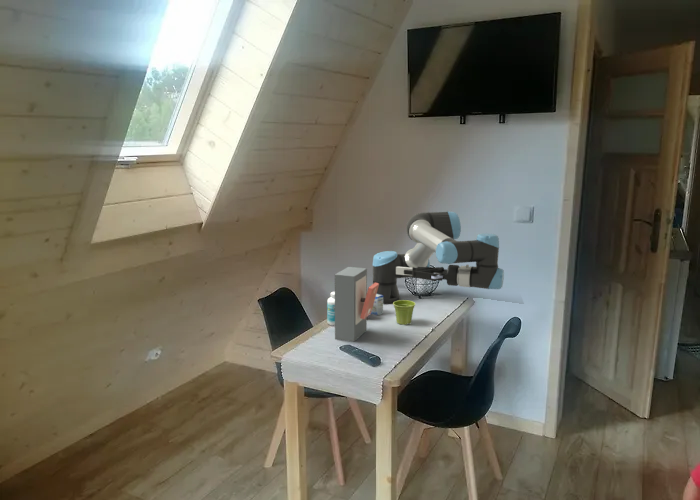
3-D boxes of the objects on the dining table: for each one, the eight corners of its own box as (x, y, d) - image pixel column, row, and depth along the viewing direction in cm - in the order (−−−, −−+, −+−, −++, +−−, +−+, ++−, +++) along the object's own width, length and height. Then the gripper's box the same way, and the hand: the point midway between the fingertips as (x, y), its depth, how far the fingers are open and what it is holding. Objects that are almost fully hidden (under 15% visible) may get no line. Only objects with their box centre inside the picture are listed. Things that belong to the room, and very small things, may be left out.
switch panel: (348, 327, 226) (348, 266, 221) (371, 331, 222) (372, 269, 217) (335, 339, 213) (334, 274, 208) (359, 342, 209) (359, 277, 204)
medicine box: (363, 312, 247) (363, 293, 245) (369, 309, 250) (369, 291, 249) (377, 315, 242) (377, 296, 240) (383, 313, 245) (383, 294, 244)
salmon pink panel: (367, 312, 218) (375, 282, 214) (371, 313, 217) (379, 283, 214) (360, 317, 211) (368, 287, 207) (364, 319, 210) (372, 288, 206)
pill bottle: (324, 325, 229) (324, 294, 227) (331, 319, 236) (331, 289, 233) (341, 327, 227) (341, 296, 224) (347, 321, 234) (347, 291, 231)
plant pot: (413, 327, 227) (414, 307, 225) (391, 325, 229) (391, 305, 227) (415, 320, 236) (416, 300, 234) (394, 318, 238) (394, 299, 236)
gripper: (462, 262, 202) (401, 257, 211) (455, 269, 190) (391, 264, 199) (462, 281, 204) (401, 276, 212) (455, 290, 192) (391, 284, 201)
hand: (396, 270), depth 206 cm, fingers closed
